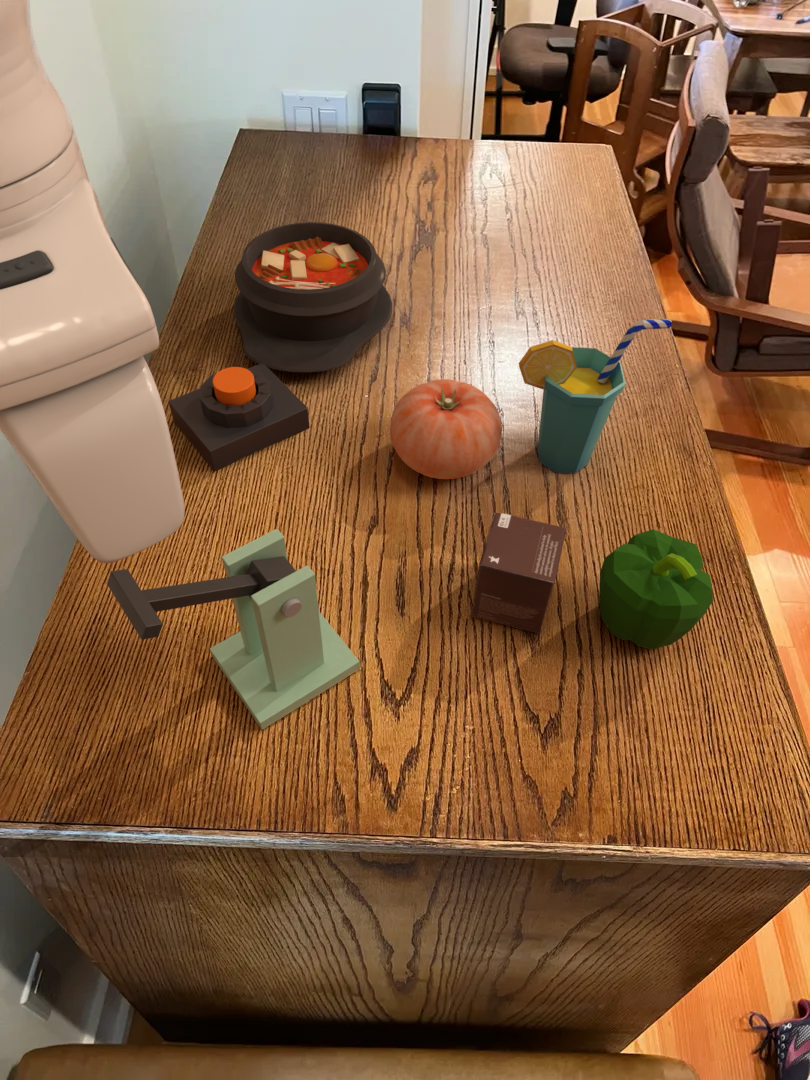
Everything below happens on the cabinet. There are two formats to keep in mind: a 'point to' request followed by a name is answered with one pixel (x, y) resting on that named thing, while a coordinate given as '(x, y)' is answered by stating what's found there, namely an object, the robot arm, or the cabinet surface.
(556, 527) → the box
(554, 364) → the cup
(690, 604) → the bell pepper
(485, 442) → the tomato
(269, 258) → the casserole
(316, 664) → the lever stand
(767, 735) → the cabinet surface
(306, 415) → the button housing
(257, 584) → the lever
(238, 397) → the button
